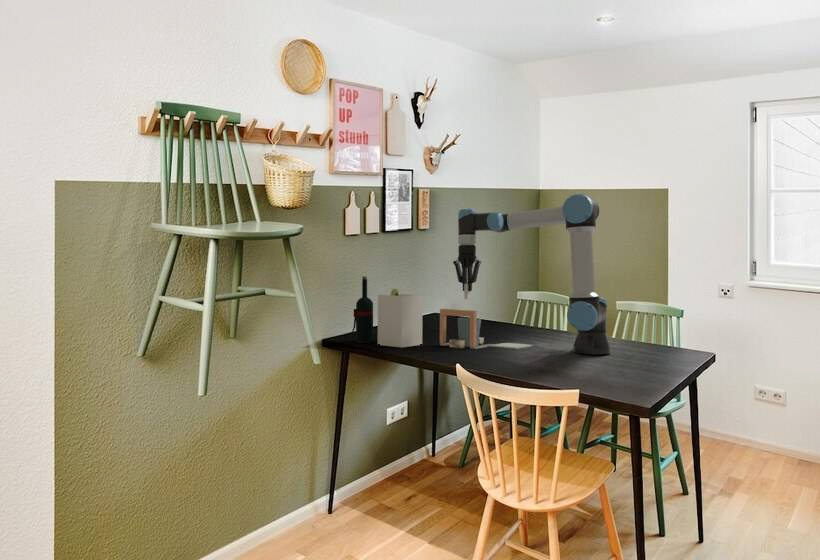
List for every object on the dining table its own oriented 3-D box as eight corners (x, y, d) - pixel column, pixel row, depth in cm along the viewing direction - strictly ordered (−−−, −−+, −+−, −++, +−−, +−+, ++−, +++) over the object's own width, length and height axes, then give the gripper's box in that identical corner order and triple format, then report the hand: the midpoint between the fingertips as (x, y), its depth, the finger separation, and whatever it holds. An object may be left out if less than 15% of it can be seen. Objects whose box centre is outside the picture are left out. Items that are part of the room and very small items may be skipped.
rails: (494, 345, 282) (494, 344, 282) (474, 348, 271) (474, 347, 271) (460, 342, 294) (460, 341, 294) (440, 345, 283) (440, 344, 283)
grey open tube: (452, 345, 282) (453, 318, 281) (466, 343, 289) (467, 317, 289) (471, 347, 275) (471, 319, 275) (485, 345, 282) (485, 318, 282)
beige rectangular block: (483, 344, 287) (483, 337, 287) (460, 348, 274) (460, 341, 274) (472, 343, 291) (472, 336, 291) (449, 346, 277) (449, 339, 277)
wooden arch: (476, 346, 272) (476, 310, 272) (473, 346, 270) (473, 311, 270) (442, 343, 284) (442, 308, 283) (439, 343, 282) (439, 309, 282)
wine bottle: (355, 341, 296) (355, 276, 296) (375, 342, 293) (376, 276, 292) (348, 343, 289) (348, 276, 288) (369, 344, 286) (369, 276, 285)
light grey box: (422, 344, 286) (422, 295, 285) (401, 347, 275) (401, 295, 274) (398, 342, 295) (398, 294, 294) (377, 344, 284) (377, 294, 284)
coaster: (532, 346, 281) (532, 344, 281) (516, 349, 271) (516, 347, 271) (506, 343, 289) (506, 342, 289) (490, 346, 279) (490, 345, 279)
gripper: (484, 244, 281) (484, 298, 281) (457, 245, 288) (458, 298, 288) (476, 244, 274) (477, 299, 275) (449, 244, 281) (450, 298, 282)
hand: (467, 298), depth 281 cm, fingers closed
